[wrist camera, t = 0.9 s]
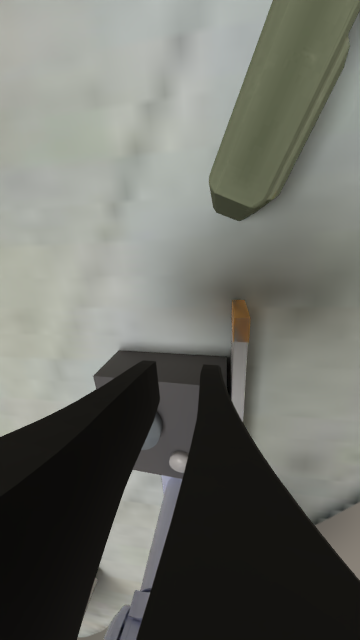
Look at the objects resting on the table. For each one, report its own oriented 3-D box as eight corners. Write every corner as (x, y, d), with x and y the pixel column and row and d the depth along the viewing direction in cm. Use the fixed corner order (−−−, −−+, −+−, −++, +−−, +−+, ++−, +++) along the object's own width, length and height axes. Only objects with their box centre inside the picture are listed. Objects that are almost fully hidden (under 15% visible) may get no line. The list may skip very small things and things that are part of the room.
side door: (236, 447, 20) (239, 492, 17) (227, 445, 20) (227, 490, 17) (244, 299, 15) (250, 318, 11) (232, 299, 15) (233, 317, 12)
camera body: (224, 443, 21) (223, 497, 16) (132, 430, 23) (110, 474, 18) (226, 356, 17) (226, 395, 13) (118, 350, 19) (86, 382, 15)
